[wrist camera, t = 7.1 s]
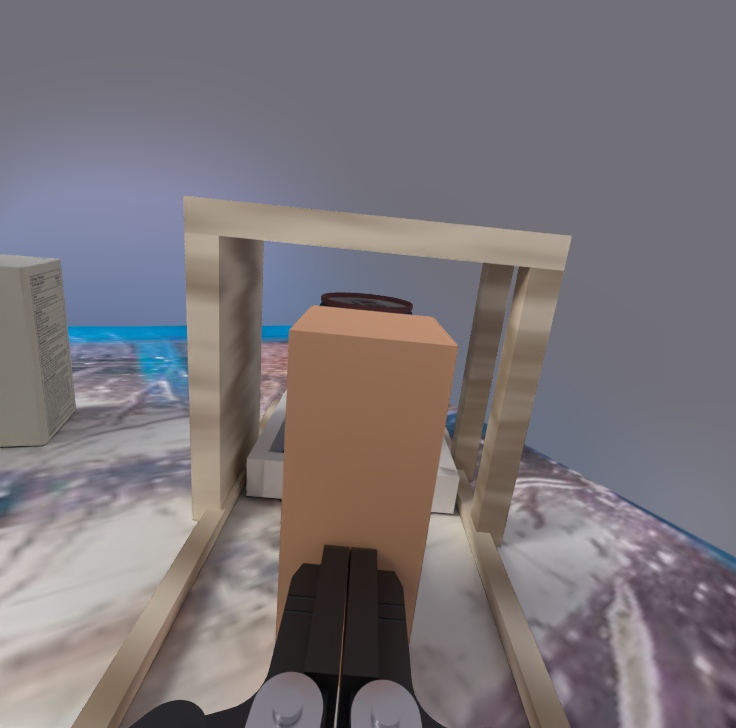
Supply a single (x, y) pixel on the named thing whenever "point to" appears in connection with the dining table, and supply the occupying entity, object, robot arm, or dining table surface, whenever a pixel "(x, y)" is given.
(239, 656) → the dining table surface
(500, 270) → the tunnel rail
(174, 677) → the dining table surface
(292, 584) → the robot arm
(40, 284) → the skincare box
